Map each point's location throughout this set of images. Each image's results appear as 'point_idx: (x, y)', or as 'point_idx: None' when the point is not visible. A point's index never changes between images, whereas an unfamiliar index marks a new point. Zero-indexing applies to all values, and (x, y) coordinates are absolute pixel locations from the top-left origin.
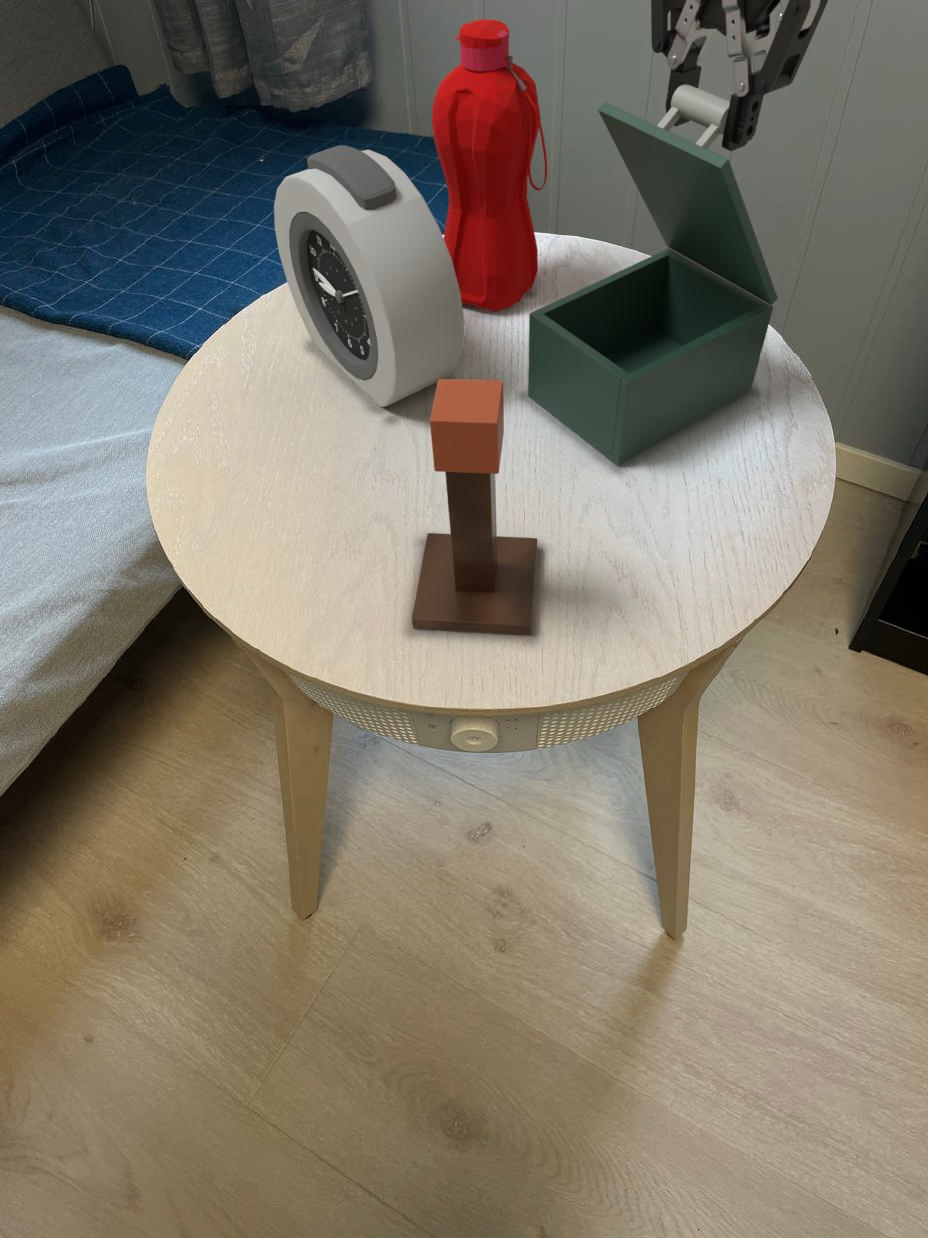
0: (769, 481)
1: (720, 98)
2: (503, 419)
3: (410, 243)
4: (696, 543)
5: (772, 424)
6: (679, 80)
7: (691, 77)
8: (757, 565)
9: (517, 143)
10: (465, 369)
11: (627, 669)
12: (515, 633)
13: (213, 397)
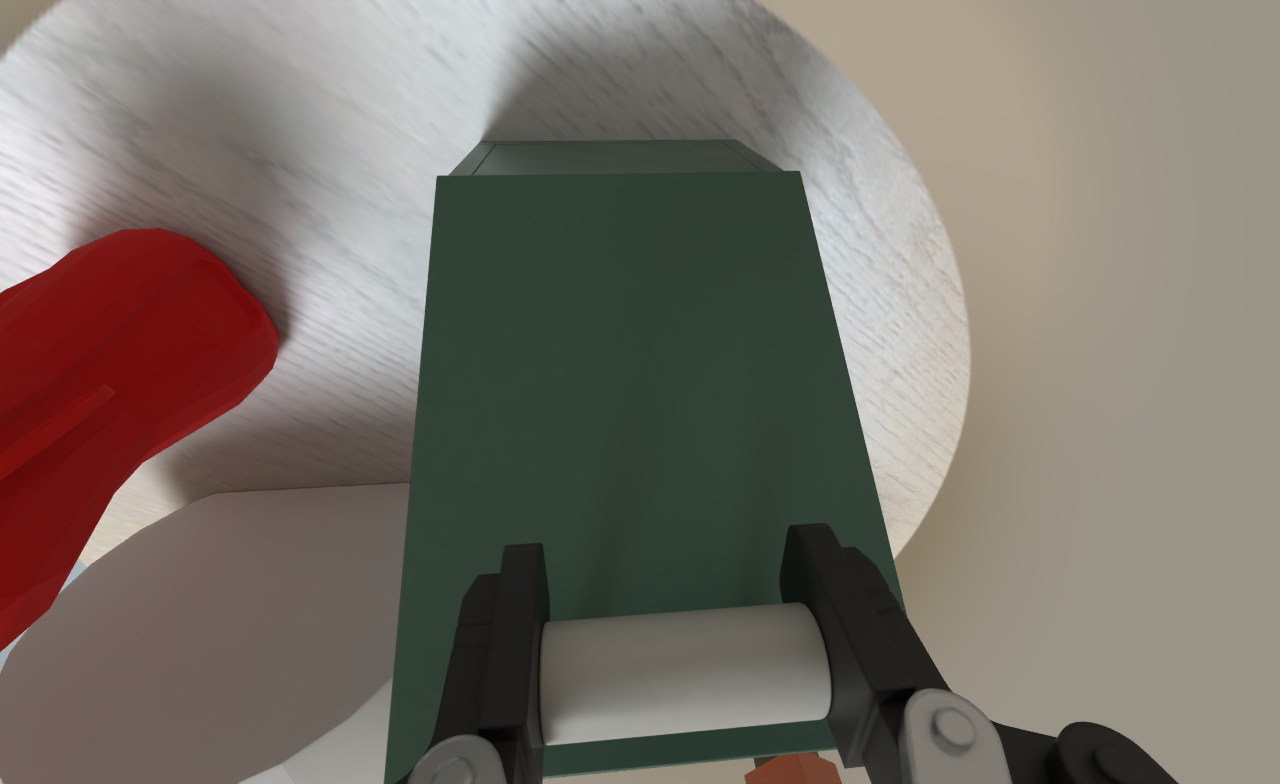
0: (878, 281)
1: (753, 708)
2: (804, 769)
3: (376, 744)
4: (862, 418)
5: (814, 180)
6: (542, 769)
7: (535, 722)
8: (934, 390)
9: (26, 543)
10: (410, 454)
11: (896, 542)
12: None
13: None
